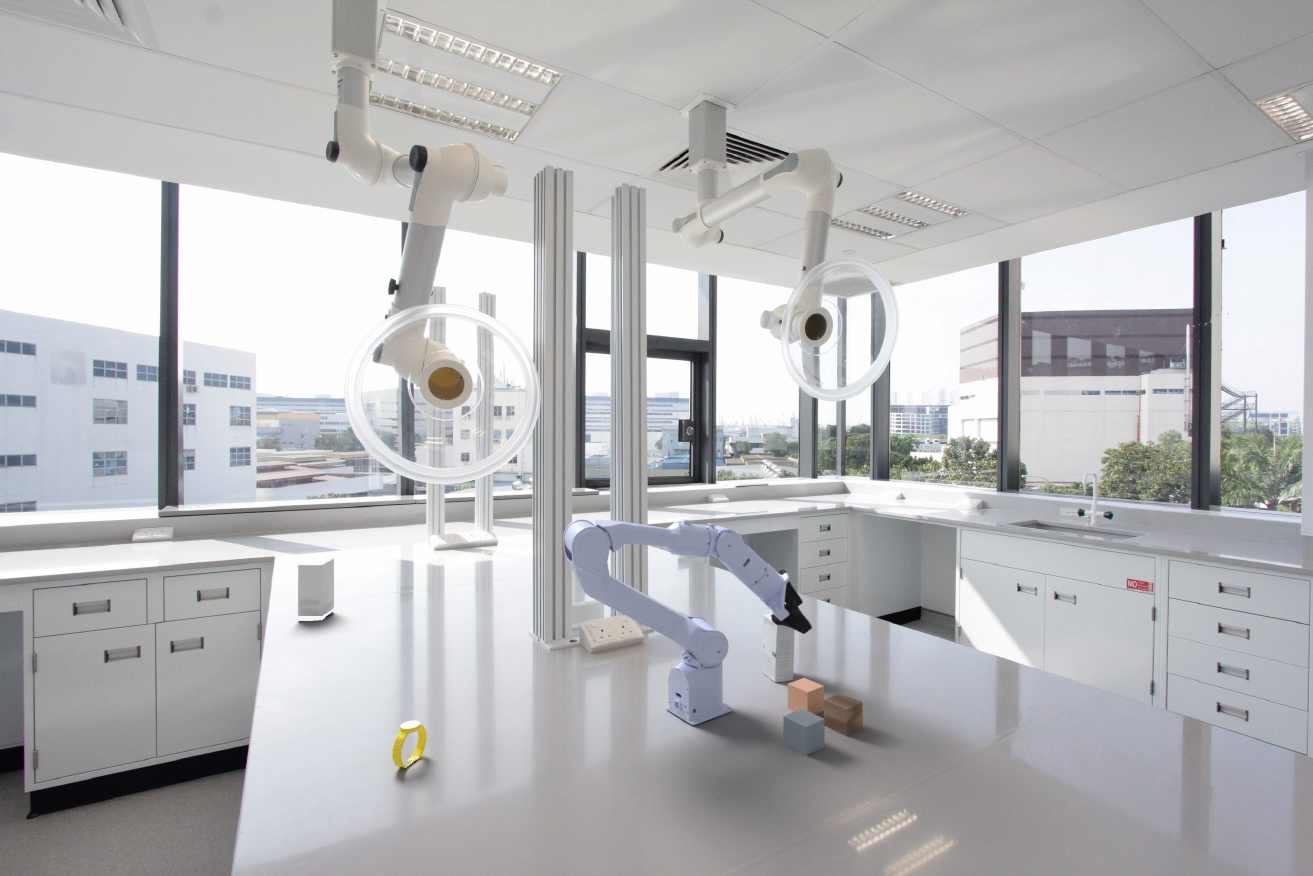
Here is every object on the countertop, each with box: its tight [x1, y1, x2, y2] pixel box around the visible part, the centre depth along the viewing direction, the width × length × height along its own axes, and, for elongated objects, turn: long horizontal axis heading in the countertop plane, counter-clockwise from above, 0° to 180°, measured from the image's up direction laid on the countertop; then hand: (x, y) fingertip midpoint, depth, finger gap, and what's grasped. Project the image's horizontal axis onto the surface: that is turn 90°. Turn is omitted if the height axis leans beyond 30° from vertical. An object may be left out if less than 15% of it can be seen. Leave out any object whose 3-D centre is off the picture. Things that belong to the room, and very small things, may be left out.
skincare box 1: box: [297, 557, 335, 617], centre depth 163 cm, size 8×7×16 cm
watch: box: [391, 720, 428, 769], centre depth 91 cm, size 6×3×6 cm, turn 163°
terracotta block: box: [787, 677, 825, 715], centre depth 108 cm, size 4×4×4 cm
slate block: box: [783, 709, 826, 756], centre depth 95 cm, size 4×4×4 cm
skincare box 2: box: [761, 613, 796, 683], centre depth 122 cm, size 6×4×12 cm
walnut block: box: [823, 692, 864, 737], centre depth 101 cm, size 4×4×4 cm
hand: (803, 617), depth 114 cm, fingers open, 7 cm apart
